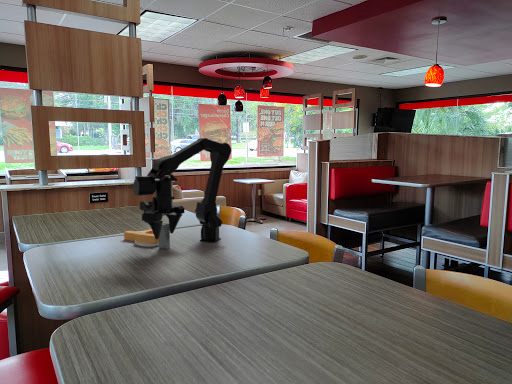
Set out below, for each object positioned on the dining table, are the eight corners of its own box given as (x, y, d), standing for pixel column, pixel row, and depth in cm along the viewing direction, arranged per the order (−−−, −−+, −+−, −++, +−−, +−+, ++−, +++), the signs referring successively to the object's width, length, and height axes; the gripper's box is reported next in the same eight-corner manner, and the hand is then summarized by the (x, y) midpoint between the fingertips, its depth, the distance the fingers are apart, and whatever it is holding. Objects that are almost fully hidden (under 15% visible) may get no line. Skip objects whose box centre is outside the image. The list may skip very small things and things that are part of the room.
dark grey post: (169, 247, 138) (169, 223, 136) (166, 249, 135) (165, 225, 134) (162, 246, 139) (162, 223, 137) (159, 248, 136) (158, 224, 135)
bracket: (176, 239, 149) (175, 230, 148) (156, 248, 137) (156, 238, 136) (137, 235, 155) (137, 226, 155) (115, 242, 143) (114, 232, 143)
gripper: (160, 189, 146) (161, 228, 148) (128, 195, 129) (129, 239, 131) (184, 191, 142) (185, 231, 144) (155, 197, 125) (156, 243, 127)
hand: (164, 236), depth 136 cm, fingers open, 9 cm apart
